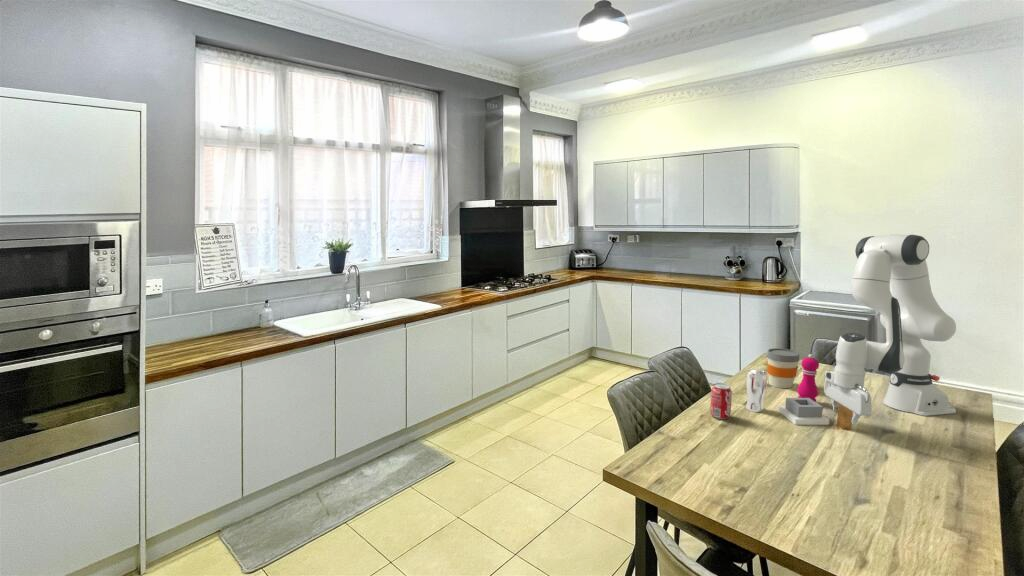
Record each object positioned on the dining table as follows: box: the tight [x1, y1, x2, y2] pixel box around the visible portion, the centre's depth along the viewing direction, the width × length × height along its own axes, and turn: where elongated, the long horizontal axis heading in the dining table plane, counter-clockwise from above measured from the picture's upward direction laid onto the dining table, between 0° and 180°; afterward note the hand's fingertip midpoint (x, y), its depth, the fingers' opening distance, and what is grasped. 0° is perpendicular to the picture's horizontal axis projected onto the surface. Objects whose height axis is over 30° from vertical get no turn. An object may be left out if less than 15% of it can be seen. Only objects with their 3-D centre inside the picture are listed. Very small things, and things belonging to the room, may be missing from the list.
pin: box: [836, 403, 854, 430], centre depth 172 cm, size 3×3×10 cm
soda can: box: [709, 382, 733, 420], centre depth 182 cm, size 7×7×12 cm
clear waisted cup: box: [745, 368, 768, 413], centre depth 188 cm, size 7×7×15 cm
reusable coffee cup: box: [766, 347, 800, 389], centre depth 215 cm, size 13×13×15 cm
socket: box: [777, 397, 830, 426], centre depth 181 cm, size 12×12×6 cm
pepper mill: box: [796, 353, 820, 403], centre depth 194 cm, size 7×7×20 cm
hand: (844, 417), depth 173 cm, fingers open, 8 cm apart
